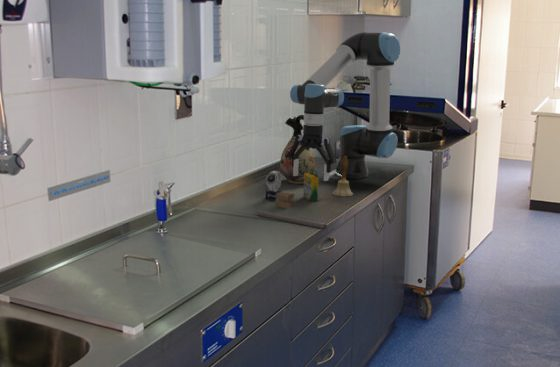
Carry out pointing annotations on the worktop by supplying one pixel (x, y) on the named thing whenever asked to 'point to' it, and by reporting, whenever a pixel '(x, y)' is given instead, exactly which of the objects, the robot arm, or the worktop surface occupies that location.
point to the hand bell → (343, 181)
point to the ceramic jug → (304, 158)
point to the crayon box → (311, 185)
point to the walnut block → (284, 199)
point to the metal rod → (291, 219)
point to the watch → (273, 184)
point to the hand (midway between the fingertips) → (310, 178)
